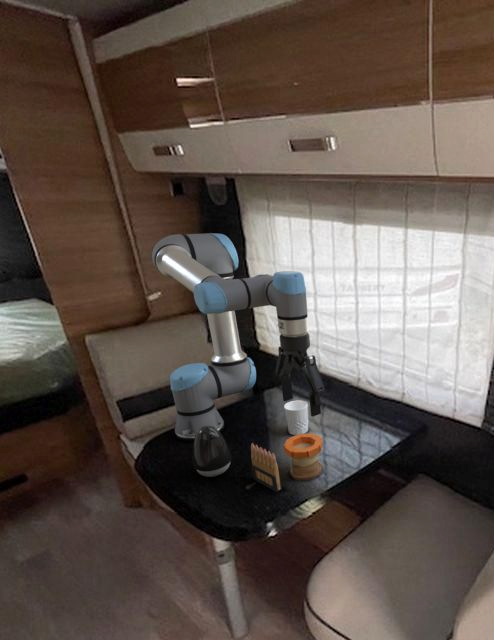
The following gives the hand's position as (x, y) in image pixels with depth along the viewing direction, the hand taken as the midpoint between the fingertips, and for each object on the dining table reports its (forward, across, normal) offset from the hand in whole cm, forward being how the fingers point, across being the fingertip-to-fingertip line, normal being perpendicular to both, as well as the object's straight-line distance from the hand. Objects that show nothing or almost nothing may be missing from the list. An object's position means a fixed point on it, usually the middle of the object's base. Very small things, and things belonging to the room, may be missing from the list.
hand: (301, 407), depth 116 cm
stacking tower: (+22, -1, 0) cm, 22 cm away
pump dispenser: (+22, -20, -19) cm, 35 cm away
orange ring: (+14, -1, 0) cm, 14 cm away
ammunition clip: (+22, -3, -11) cm, 25 cm away
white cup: (+22, -24, +12) cm, 34 cm away
